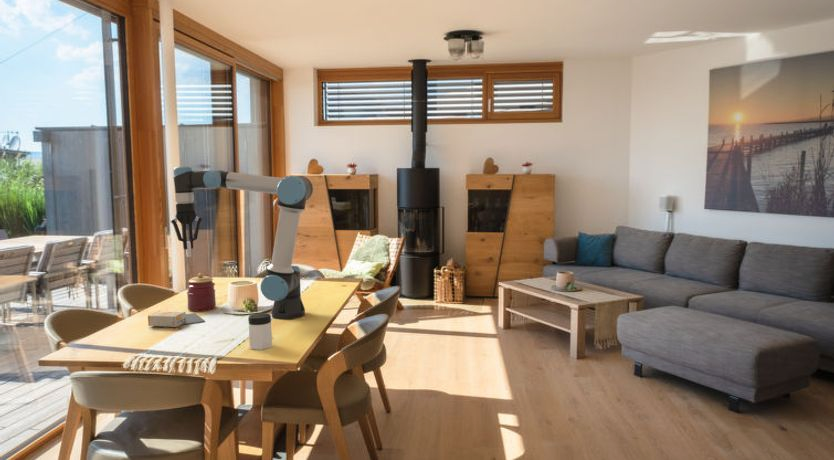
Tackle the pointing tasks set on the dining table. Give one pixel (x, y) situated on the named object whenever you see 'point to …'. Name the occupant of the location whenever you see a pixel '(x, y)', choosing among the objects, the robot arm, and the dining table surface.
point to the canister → (201, 293)
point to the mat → (191, 319)
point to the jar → (260, 331)
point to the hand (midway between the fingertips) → (189, 256)
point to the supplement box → (167, 319)
